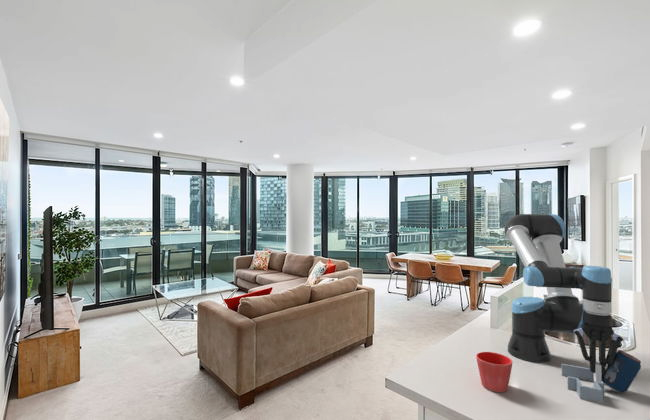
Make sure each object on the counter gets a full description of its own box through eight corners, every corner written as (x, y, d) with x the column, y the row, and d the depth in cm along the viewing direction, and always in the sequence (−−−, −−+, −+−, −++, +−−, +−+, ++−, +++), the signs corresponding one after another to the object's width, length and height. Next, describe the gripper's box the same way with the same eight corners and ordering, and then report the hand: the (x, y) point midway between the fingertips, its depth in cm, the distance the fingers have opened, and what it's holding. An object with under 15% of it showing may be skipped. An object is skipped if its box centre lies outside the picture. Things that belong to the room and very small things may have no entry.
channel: (571, 396, 102) (571, 384, 102) (561, 374, 117) (561, 363, 117) (609, 405, 98) (609, 391, 98) (594, 380, 112) (594, 369, 112)
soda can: (624, 391, 106) (643, 361, 105) (625, 397, 101) (644, 365, 100) (599, 376, 111) (616, 347, 109) (598, 381, 106) (616, 350, 104)
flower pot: (480, 375, 116) (480, 348, 116) (515, 385, 109) (514, 356, 110) (472, 387, 108) (472, 358, 108) (509, 399, 101) (509, 368, 101)
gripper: (575, 312, 108) (576, 383, 107) (626, 318, 102) (627, 393, 101) (570, 307, 114) (571, 373, 114) (617, 312, 108) (618, 382, 108)
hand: (597, 382), depth 107 cm, fingers closed
